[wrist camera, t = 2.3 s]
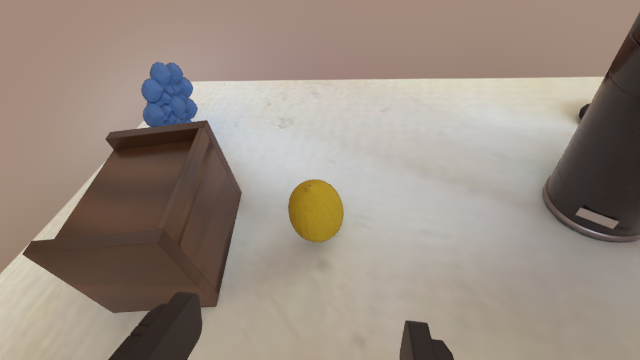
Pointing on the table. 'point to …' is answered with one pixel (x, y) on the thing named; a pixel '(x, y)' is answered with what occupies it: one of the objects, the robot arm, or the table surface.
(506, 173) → the table surface
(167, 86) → the grapes
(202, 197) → the tray
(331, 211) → the lemon
